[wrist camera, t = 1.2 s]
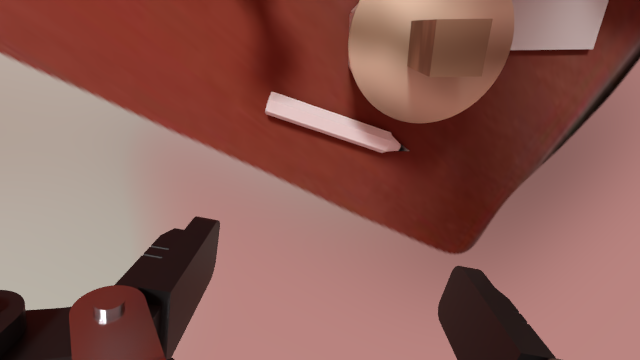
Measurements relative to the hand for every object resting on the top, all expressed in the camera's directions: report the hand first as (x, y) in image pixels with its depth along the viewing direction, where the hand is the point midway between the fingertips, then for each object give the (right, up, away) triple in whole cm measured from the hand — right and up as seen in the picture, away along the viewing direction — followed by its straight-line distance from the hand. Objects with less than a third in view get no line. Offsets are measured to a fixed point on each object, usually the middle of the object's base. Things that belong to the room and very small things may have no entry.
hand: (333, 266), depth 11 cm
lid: (+8, +14, +15) cm, 22 cm away
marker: (+2, +9, +25) cm, 26 cm away
